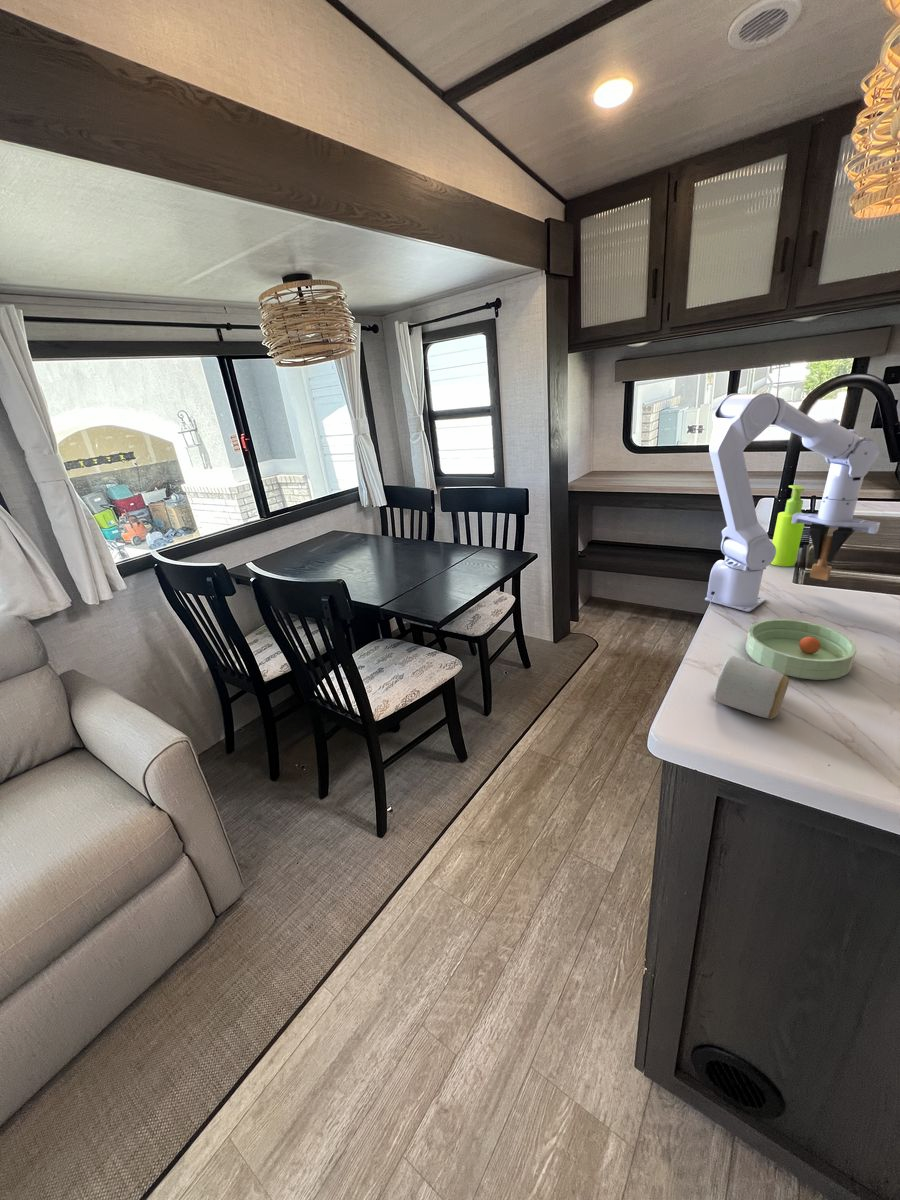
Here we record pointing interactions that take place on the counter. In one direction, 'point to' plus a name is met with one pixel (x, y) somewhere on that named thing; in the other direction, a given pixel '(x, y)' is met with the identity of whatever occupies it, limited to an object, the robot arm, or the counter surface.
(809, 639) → the ball
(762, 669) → the ceramic mug
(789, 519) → the soap dispenser
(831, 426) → the robot arm
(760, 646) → the bowl
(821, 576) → the brown handled stamp
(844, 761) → the counter surface
